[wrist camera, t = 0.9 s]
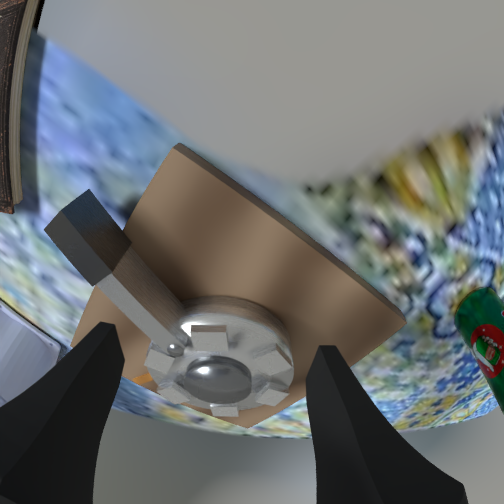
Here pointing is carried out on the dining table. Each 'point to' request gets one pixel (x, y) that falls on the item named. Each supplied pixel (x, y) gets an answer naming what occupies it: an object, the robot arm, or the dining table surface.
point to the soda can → (485, 335)
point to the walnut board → (242, 273)
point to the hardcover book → (13, 91)
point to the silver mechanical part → (180, 321)
